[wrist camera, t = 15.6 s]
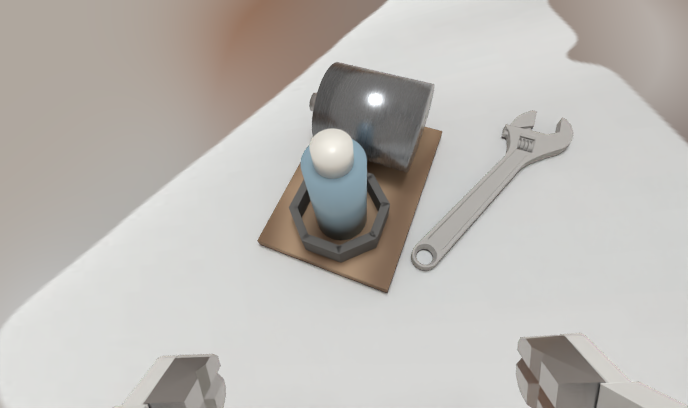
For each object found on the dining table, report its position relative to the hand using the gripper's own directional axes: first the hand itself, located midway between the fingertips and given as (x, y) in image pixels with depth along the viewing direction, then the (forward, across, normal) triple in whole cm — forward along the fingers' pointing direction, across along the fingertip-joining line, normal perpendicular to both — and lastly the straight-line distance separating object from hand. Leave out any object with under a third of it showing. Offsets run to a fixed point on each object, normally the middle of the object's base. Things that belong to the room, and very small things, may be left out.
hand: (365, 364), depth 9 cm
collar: (+26, +2, +5) cm, 27 cm away
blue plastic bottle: (+26, +2, +5) cm, 26 cm away
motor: (+32, -1, -2) cm, 33 cm away
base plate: (+29, 0, +2) cm, 29 cm away
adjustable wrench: (+30, -14, +4) cm, 33 cm away
